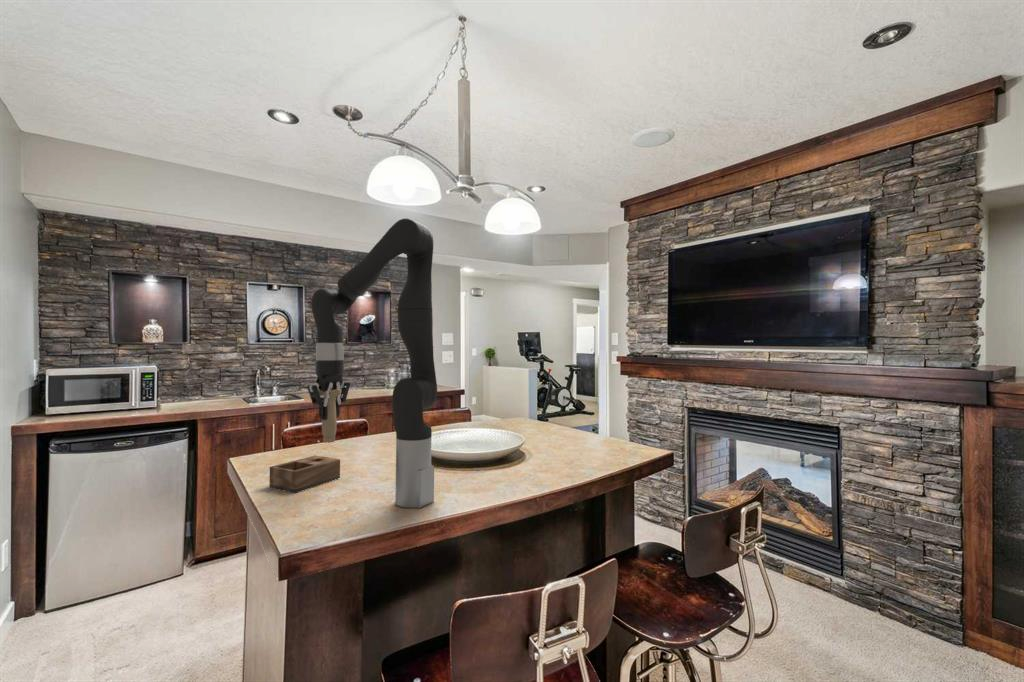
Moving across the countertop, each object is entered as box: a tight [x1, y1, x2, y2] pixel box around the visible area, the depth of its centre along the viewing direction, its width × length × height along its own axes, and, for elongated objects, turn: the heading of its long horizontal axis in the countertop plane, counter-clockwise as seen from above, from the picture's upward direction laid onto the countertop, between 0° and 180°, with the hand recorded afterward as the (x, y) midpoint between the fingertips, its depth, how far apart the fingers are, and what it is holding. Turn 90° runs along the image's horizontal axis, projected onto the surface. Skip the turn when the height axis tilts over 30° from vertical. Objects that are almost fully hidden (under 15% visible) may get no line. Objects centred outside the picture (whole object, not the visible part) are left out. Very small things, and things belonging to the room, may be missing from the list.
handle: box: [318, 389, 341, 444], centre depth 130 cm, size 5×6×15 cm
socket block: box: [269, 455, 341, 494], centre depth 136 cm, size 11×16×6 cm
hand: (329, 418), depth 130 cm, fingers closed on handle, 3 cm apart
